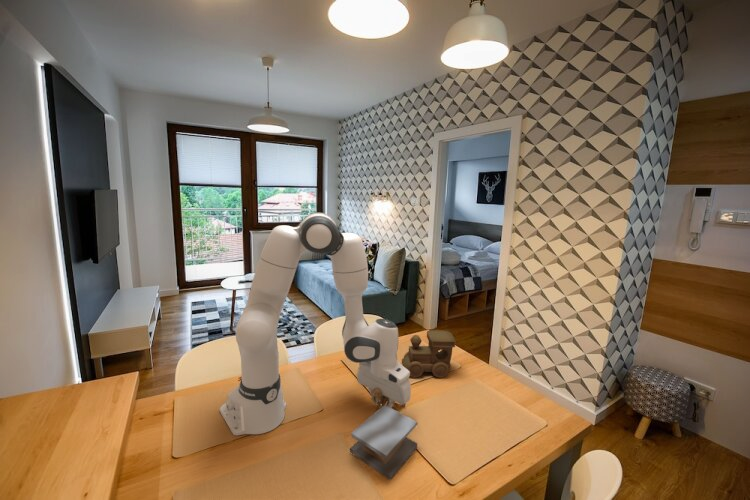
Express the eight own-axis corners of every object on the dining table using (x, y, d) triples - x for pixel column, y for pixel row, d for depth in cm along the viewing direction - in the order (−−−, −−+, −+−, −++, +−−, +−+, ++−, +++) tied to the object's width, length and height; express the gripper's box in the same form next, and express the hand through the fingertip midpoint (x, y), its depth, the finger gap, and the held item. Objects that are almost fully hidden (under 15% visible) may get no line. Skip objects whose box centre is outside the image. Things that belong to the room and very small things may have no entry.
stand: (347, 454, 91) (348, 431, 90) (380, 424, 104) (381, 403, 102) (387, 482, 83) (389, 457, 82) (418, 445, 96) (420, 423, 94)
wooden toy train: (445, 364, 142) (448, 329, 139) (453, 379, 131) (456, 341, 128) (400, 364, 141) (403, 328, 138) (404, 379, 130) (407, 340, 127)
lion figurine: (375, 419, 106) (376, 395, 104) (366, 410, 110) (368, 386, 108) (409, 404, 114) (411, 382, 112) (400, 396, 118) (402, 374, 117)
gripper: (354, 359, 112) (352, 395, 114) (404, 382, 100) (401, 421, 102) (365, 353, 117) (363, 387, 119) (414, 373, 105) (411, 411, 107)
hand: (381, 403), depth 110 cm, fingers closed on lion figurine, 5 cm apart
